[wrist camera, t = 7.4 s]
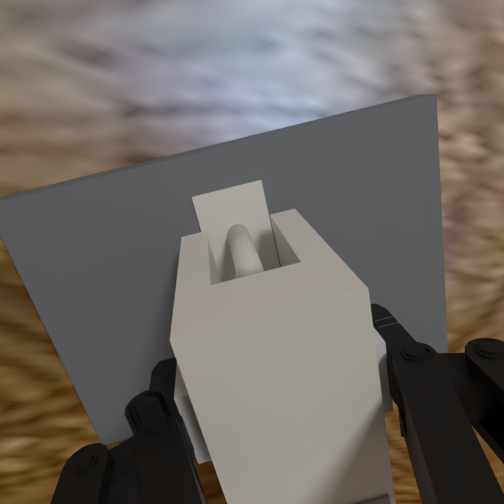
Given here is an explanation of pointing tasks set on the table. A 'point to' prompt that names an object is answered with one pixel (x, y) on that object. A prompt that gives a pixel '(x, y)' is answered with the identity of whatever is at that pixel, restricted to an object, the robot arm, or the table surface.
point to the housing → (284, 373)
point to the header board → (228, 237)
